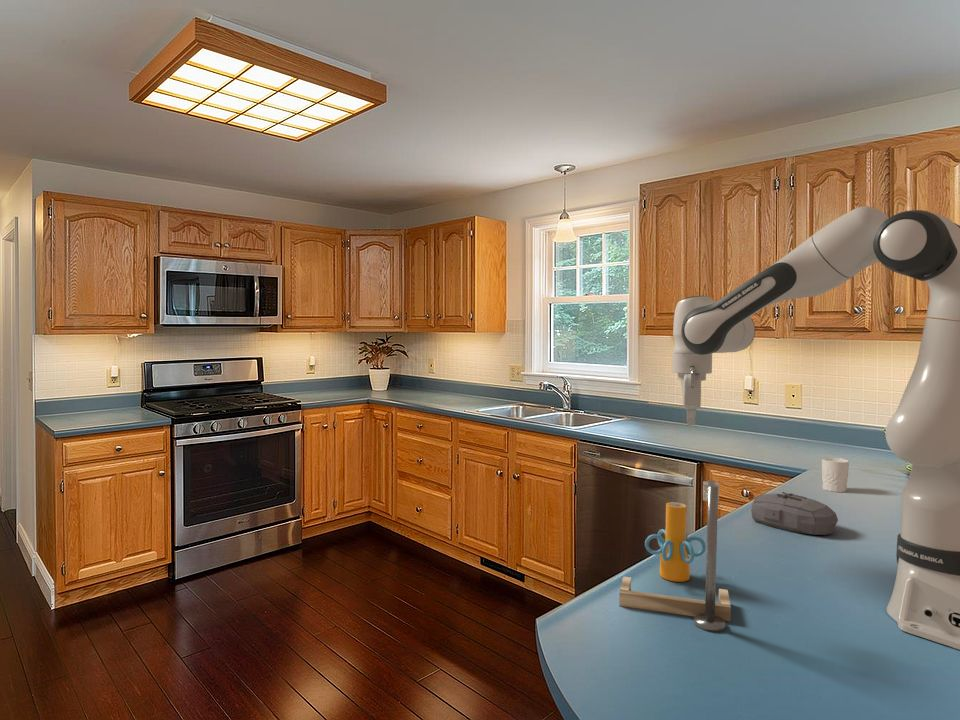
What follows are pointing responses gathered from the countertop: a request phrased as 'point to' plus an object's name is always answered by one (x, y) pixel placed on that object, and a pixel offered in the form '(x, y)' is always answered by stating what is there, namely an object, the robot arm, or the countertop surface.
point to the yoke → (671, 602)
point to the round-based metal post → (710, 561)
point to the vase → (675, 545)
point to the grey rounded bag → (794, 514)
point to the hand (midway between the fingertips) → (690, 424)
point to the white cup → (834, 474)
